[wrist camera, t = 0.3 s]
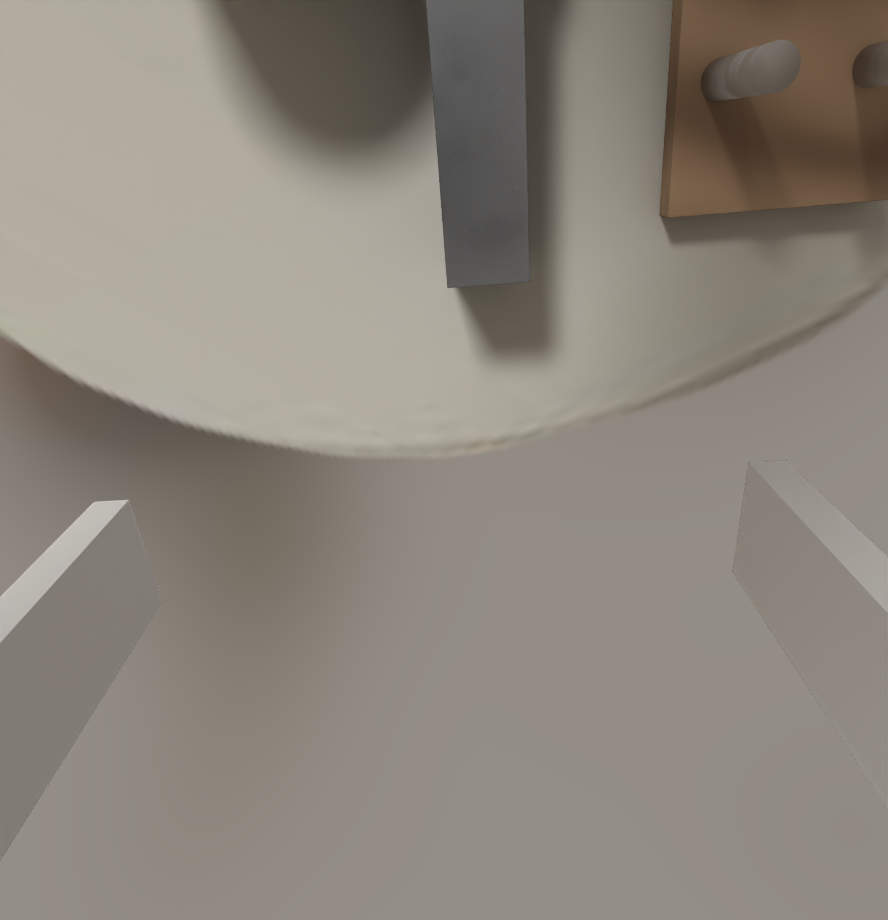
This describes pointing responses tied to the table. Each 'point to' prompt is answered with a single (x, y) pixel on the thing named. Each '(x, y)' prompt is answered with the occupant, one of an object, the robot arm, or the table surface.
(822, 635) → the robot arm
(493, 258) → the grey notched bar
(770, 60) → the rack
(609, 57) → the table surface
